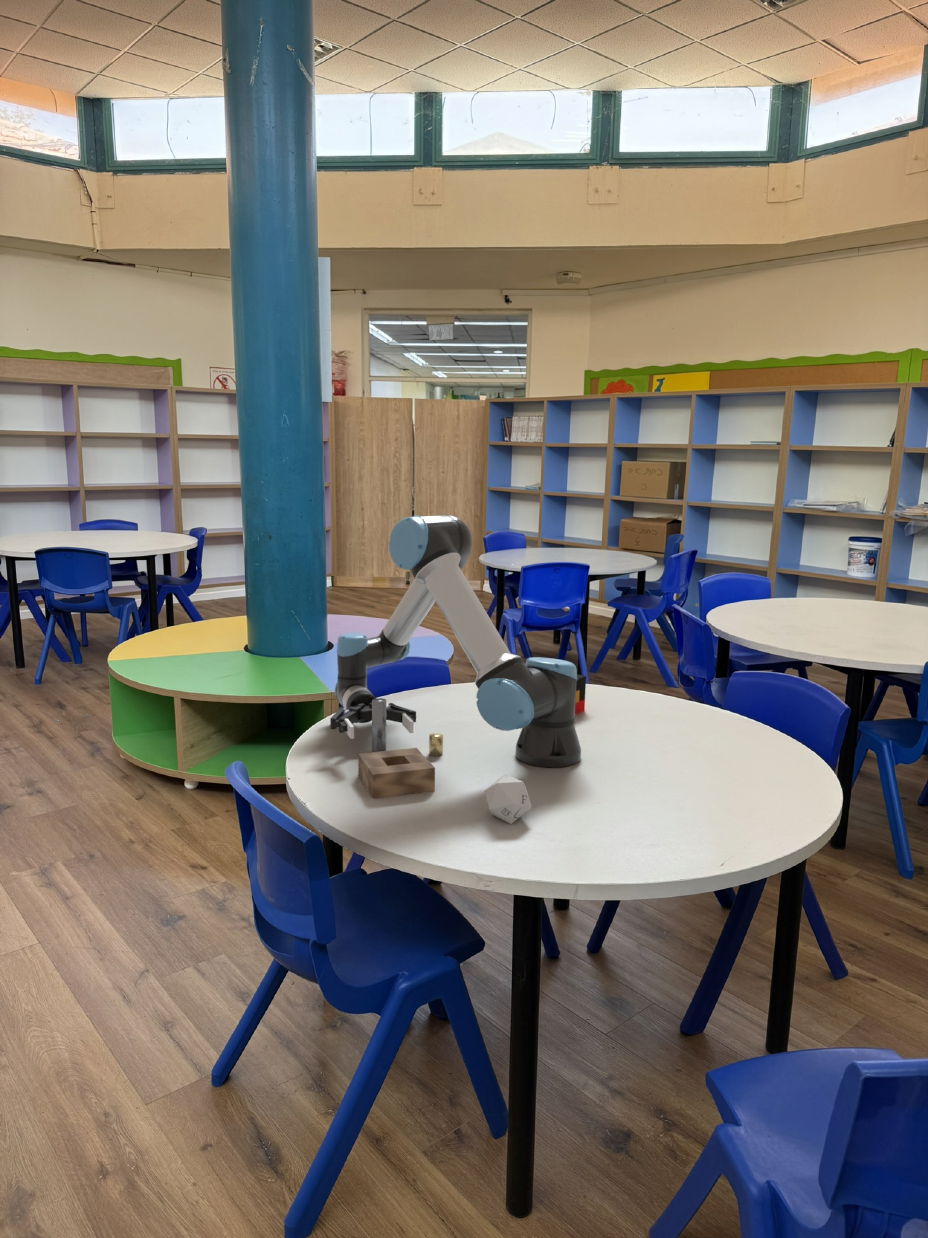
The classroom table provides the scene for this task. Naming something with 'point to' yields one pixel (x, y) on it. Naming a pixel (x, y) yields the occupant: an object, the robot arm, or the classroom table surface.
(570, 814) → the classroom table surface
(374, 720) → the long metal pin
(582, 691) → the puzzle toy
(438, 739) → the short brass pin
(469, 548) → the robot arm
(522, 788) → the die
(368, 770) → the hole block
